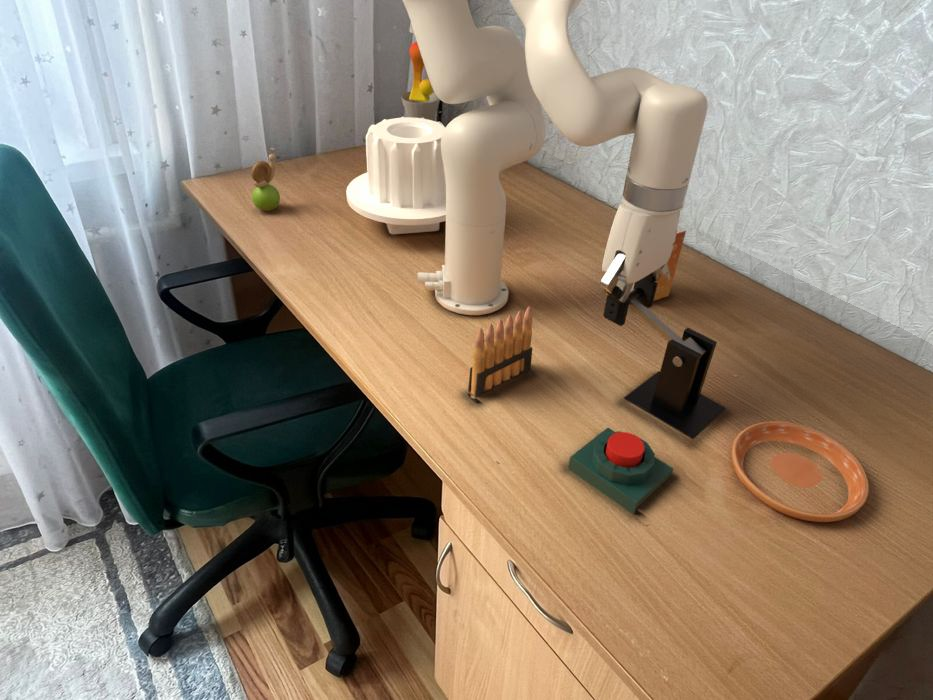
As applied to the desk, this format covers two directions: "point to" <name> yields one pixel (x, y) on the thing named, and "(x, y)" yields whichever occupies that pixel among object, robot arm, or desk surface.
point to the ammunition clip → (501, 354)
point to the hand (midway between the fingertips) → (627, 311)
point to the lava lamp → (419, 89)
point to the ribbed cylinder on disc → (402, 176)
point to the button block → (619, 472)
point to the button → (624, 449)
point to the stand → (680, 387)
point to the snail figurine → (265, 184)
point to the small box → (665, 268)
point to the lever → (659, 322)
